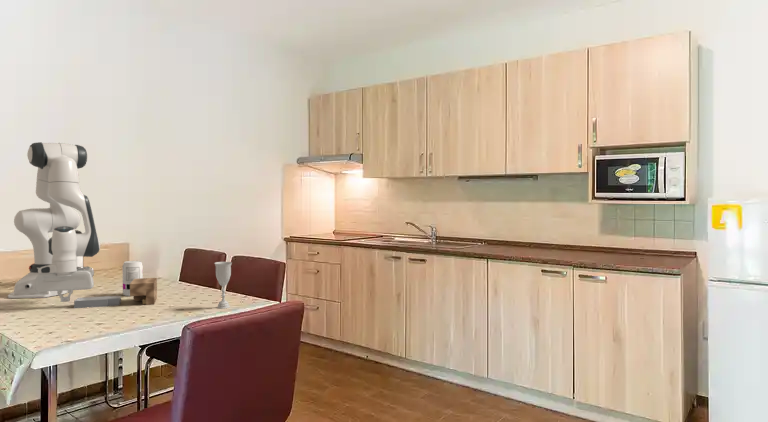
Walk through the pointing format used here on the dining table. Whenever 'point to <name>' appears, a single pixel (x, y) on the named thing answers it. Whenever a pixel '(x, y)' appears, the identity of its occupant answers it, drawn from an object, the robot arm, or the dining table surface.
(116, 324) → the dining table surface
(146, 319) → the dining table surface
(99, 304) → the board
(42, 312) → the dining table surface
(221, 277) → the chalice
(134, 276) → the supplement can
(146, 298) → the shelf block
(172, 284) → the dining table surface
